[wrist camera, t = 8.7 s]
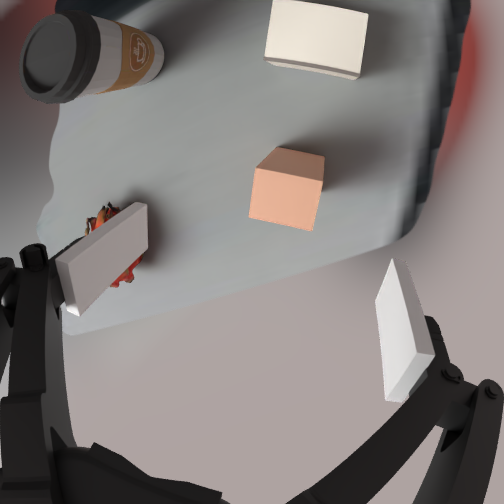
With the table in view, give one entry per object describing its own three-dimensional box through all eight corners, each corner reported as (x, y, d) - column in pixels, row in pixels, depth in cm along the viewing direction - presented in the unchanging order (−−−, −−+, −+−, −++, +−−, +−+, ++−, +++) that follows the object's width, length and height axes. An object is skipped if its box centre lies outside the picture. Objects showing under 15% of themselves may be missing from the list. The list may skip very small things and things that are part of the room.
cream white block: (281, 12, 25) (272, -2, 20) (363, 26, 24) (369, 14, 19) (273, 65, 28) (263, 59, 23) (354, 80, 27) (359, 77, 22)
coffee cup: (174, 90, 31) (81, 99, 18) (113, 97, 32) (16, 114, 20) (175, 20, 27) (85, -7, 14) (114, 33, 28) (17, 26, 16)
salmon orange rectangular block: (276, 146, 32) (255, 167, 23) (324, 156, 31) (323, 181, 22) (270, 183, 34) (248, 217, 25) (317, 193, 33) (312, 231, 24)
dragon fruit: (126, 269, 46) (135, 192, 42) (150, 299, 41) (161, 212, 36) (74, 276, 40) (76, 193, 36) (91, 310, 35) (93, 216, 31)
